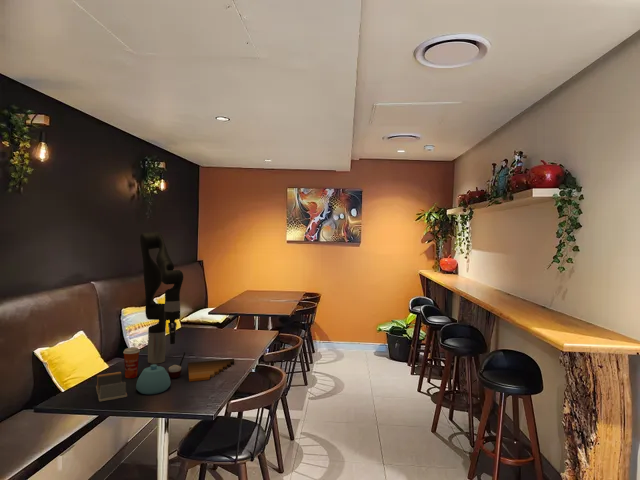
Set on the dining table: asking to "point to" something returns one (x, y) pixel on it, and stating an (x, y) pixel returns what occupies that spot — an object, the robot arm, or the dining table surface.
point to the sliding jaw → (108, 378)
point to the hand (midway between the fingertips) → (172, 342)
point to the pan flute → (207, 369)
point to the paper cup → (131, 362)
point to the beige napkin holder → (111, 391)
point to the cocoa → (175, 369)
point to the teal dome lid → (153, 380)
